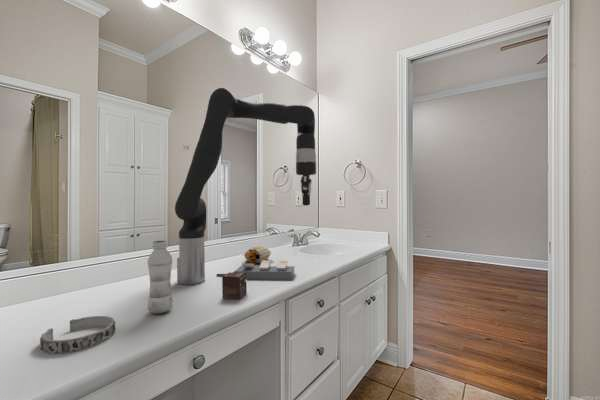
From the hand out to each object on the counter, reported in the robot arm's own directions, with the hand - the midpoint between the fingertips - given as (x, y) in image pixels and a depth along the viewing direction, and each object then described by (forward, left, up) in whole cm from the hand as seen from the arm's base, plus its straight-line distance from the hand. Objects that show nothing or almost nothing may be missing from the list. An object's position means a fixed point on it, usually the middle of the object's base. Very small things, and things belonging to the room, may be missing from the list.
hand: (306, 205), depth 108 cm
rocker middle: (-18, +8, -26) cm, 32 cm away
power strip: (-22, +8, -29) cm, 38 cm away
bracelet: (-50, -46, -30) cm, 74 cm away
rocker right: (-11, +8, -26) cm, 29 cm away
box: (-23, -16, -29) cm, 41 cm away
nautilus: (-29, +33, -30) cm, 53 cm away
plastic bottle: (-40, -30, -29) cm, 58 cm away
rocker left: (-25, +7, -26) cm, 36 cm away
